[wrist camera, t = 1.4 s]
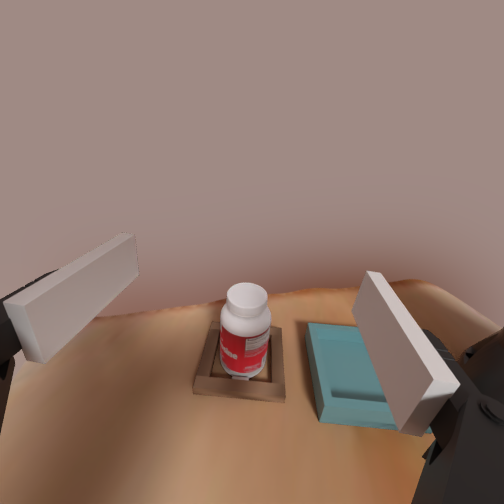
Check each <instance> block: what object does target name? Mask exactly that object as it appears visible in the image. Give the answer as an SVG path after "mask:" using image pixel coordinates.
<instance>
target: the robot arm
mask: <svg viewBox="0 0 504 504" xmlns="http://www.w3.org/2000/svg"><path fill="white" fill-rule="evenodd" d="M138 276H139V268H138V258H137V249H136V239H135V234H129V233H121V234H119V235H117V236H115V237H114V238H112V239H110V240H108V241H107V242H105V243H103V244H102V245H100V246H98V247H96V248H95V249H93V250H91V251H90V252H88V253H86V254H85V255H83V256H81V257H79V258H77V259H76V260H74V261H72V262H71V263H69V264H67V265H65V266H64V267H62V268H60V269H57V270H55V271H52V272H49V273H46V274H44V275H43V276H41V277H39V278H37V279H35V281H32V282H30V283H28V284H27V285H25V287H21V288H20V289H18V290H16V291H14V292H13V293H11V294H9V295H7V296H5V297H4V298H2V299H0V433H1V428H2V423H3V419H4V414H5V409H6V405H7V400H8V395H9V390H10V386H11V381H12V376H13V371H14V367H15V360H14V357H13V356H14V355H15V354H16V353H17V352H19V351H20V350H21V349H22V351H23V353H24V356H25V358H26V360H27V361H33V362H38V363H43V364H46V363H47V362H48V361H49V360H50V359H51V358H52V357H53V356H54V355H55V354H56V353H57V352H58V351H60V350H61V349H62V348H63V347H64V346H65V345H66V344H67V343H68V342H69V341H70V340H71V339H72V338H73V337H74V336H75V335H76V334H78V333H79V332H80V331H81V330H82V329H83V328H84V327H85V326H86V325H87V324H88V323H89V322H90V321H91V320H92V319H93V318H94V317H96V316H97V315H98V314H99V313H100V312H101V311H102V310H103V309H104V308H105V307H106V306H107V305H108V304H109V303H110V302H111V301H113V299H115V298H116V297H117V296H118V295H119V294H120V293H121V292H122V291H123V290H124V289H125V288H126V287H127V286H128V285H129V284H130V283H132V281H134V280H135V279H136V278H137V277H138ZM352 313H353V316H354V318H355V321H356V323H357V326H358V328H359V331H360V334H361V336H362V339H363V341H364V344H365V346H366V349H367V351H368V354H369V357H370V359H371V362H372V364H373V367H374V369H375V372H376V375H377V377H378V380H379V382H380V385H381V387H382V390H383V392H384V395H385V398H386V400H387V403H388V405H389V408H390V410H391V413H392V416H393V418H394V421H395V423H396V426H397V428H398V431H399V433H404V434H410V435H415V436H420V437H422V436H423V435H424V433H425V432H426V430H427V429H428V428H429V426H430V428H431V430H432V432H433V434H434V436H435V438H436V439H435V441H434V442H433V443H432V444H431V446H430V447H429V448H428V449H427V451H426V452H425V453H424V455H423V456H422V457H423V458H424V459H425V460H426V462H425V465H424V468H423V471H422V473H421V476H420V479H419V482H418V485H417V488H416V491H415V494H414V497H413V500H412V503H411V504H504V327H503V328H502V329H501V330H500V331H498V332H496V333H494V334H492V335H491V336H489V337H487V338H485V339H484V340H482V341H480V342H478V343H477V344H475V345H473V346H471V347H469V348H468V349H466V350H465V351H464V352H463V353H462V355H461V356H460V358H459V359H458V361H457V362H456V361H455V359H454V358H453V356H452V355H451V354H450V353H449V352H448V350H447V349H446V347H445V346H444V345H443V343H442V342H441V341H440V340H439V339H438V338H437V337H436V336H435V335H433V334H432V333H431V332H430V331H428V330H425V329H421V328H420V327H419V326H418V324H417V323H416V321H415V320H414V319H413V317H412V316H411V315H410V313H409V312H408V310H407V309H406V308H405V306H404V305H403V303H402V302H401V301H400V299H399V298H398V296H397V295H396V294H395V292H394V291H393V289H392V288H391V287H390V285H389V284H388V282H387V281H386V280H385V278H384V277H383V275H382V274H381V273H378V272H372V271H366V273H365V276H364V278H363V281H362V284H361V286H360V289H359V292H358V295H357V297H356V300H355V303H354V305H353V308H352Z"/></svg>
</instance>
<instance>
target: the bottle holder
mask: <svg viewBox="0 0 504 504" xmlns="http://www.w3.org/2000/svg"><path fill="white" fill-rule="evenodd" d="M219 338H220V322H212V324H211V327H210V330H209V334H208V337H207V341H206V344H205V348H204V351H203V354H202V358H201V361H200V365H199V368H198V371H197V375H196V378H195V382H194V385H193V394H200V395H210V396H220V397H230V398H240V399H250V400H260V401H270V402H280V403H284V402H285V397H286V395H285V379H284V363H283V347H282V330H281V328H277V327H270V332H269V340H271V383H268V382H258V381H249V377H238V376H232V379H227V378H217V377H210V376H211V372H212V368H213V364H214V359H215V355H216V351H217V347H218V342H219Z"/></svg>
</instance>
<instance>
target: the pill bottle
mask: <svg viewBox="0 0 504 504" xmlns="http://www.w3.org/2000/svg"><path fill="white" fill-rule="evenodd" d="M270 325H271V313H270V310H269V308H268V307H267V293H266V291H265V290H264V289H263V288H262V287H260V286H259V285H256V284H253V283H239V284H235V285H233V286H232V287H231V288H230V289H229V290H228V292H227V300H226V304H225V305H224V306H223V308H222V310H221V314H220V361H221V365H222V367H223V368H224V370H225V371H226V372H227V373H228V374H229V375H231V376H238V377H249V378H250V377H253V376H255V375H257V374H258V373H259V372H260V371H261V370H262V369H263V367H264V365H265V361H266V355H267V347H268V340H269V332H270Z"/></svg>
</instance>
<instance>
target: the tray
mask: <svg viewBox="0 0 504 504" xmlns="http://www.w3.org/2000/svg"><path fill="white" fill-rule="evenodd" d="M305 342H306V348H307V354H308V360H309V365H310V371H311V377H312V383H313V389H314V395H315V401H316V407H317V413H318V418H319V422H323V423H332V424H342V425H352V426H362V427H372V428H381V429H391V430H398V428H397V426H396V423H395V421H394V418H393V416H392V413H391V410H390V408H389V405H388V403H387V400H386V398H385V395H384V392H383V390H382V387H381V385H380V382H379V380H378V377H377V375H376V372H375V369H374V367H373V364H372V362H371V359H370V357H369V354H368V351H367V349H366V346H365V344H364V341H363V339H362V336H361V334H360V331H359V328H358V327H350V326H339V325H329V324H318V323H308V325H307V330H306V334H305ZM425 433H430V434H431V433H432V430H431V428H430V426H429V428H428V429H427V430H426V432H425Z"/></svg>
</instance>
